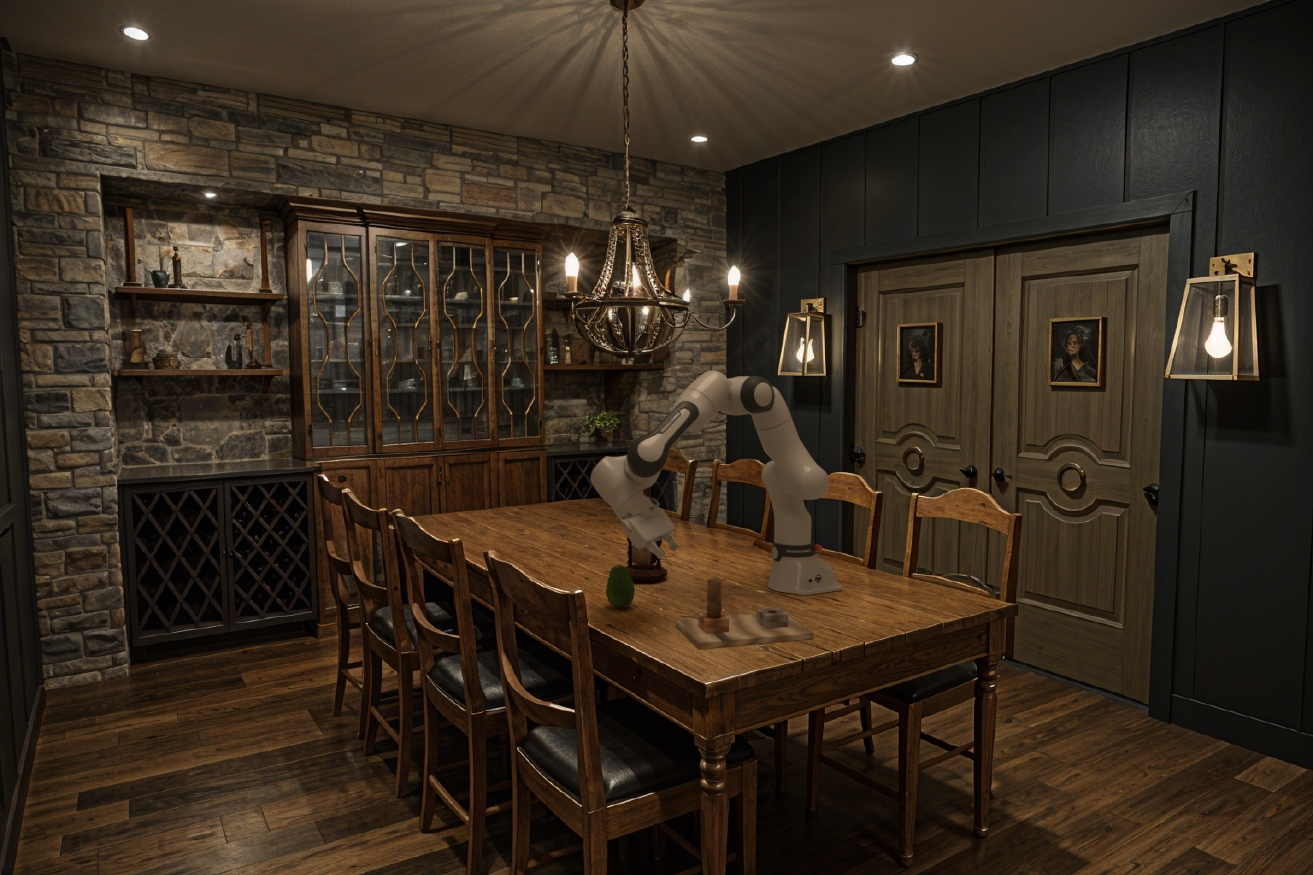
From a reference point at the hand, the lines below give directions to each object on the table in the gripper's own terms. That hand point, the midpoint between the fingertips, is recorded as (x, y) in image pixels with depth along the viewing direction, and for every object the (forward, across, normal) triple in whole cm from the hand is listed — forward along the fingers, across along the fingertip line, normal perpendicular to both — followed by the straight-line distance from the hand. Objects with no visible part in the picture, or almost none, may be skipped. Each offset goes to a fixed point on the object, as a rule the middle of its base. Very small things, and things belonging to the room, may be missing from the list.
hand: (669, 553), depth 203 cm
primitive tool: (+15, +99, +12) cm, 101 cm away
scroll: (-4, +42, +32) cm, 53 cm away
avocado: (+1, +10, +27) cm, 29 cm away
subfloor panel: (+27, +4, 0) cm, 27 cm away
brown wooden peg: (+21, -1, +4) cm, 22 cm away
